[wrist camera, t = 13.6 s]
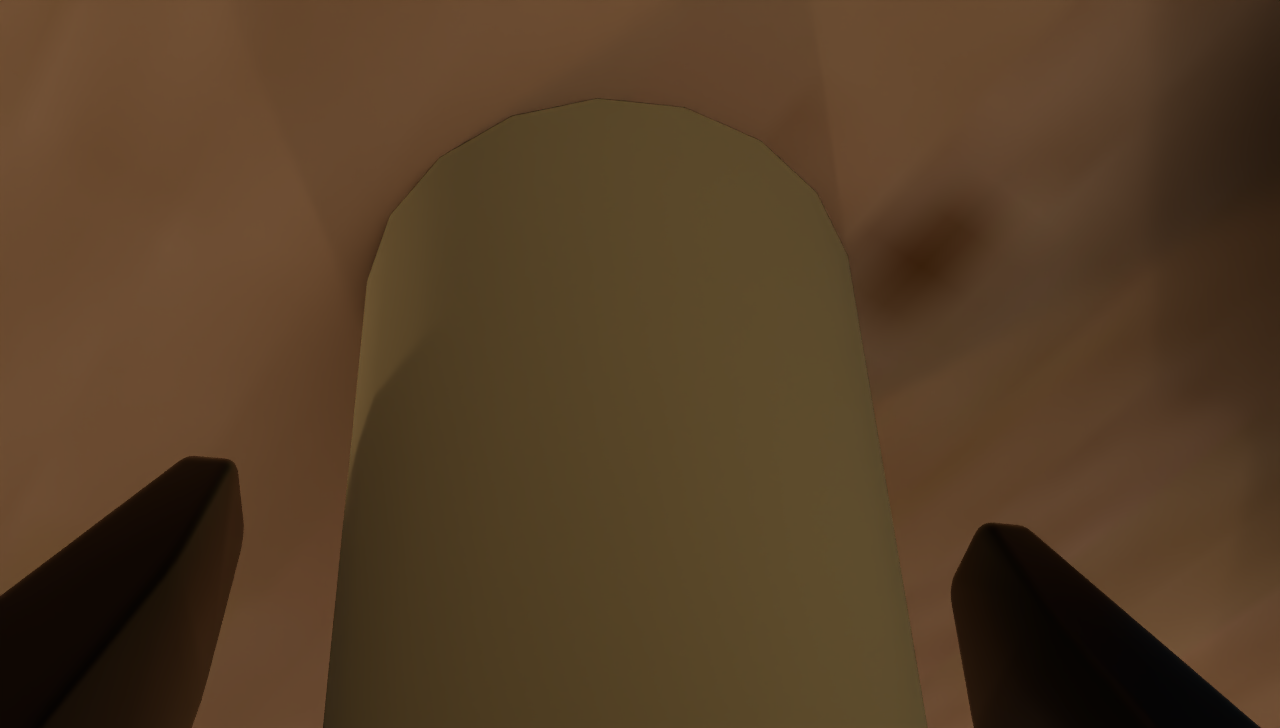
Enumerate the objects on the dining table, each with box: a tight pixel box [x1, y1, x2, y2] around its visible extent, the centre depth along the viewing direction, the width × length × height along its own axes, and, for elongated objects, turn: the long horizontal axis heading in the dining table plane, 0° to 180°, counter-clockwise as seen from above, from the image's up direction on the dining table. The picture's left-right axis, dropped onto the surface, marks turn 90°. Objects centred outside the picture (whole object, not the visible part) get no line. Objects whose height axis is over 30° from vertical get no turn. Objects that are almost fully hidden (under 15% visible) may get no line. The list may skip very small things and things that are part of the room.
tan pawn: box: [323, 99, 928, 728], centre depth 8 cm, size 6×6×11 cm
